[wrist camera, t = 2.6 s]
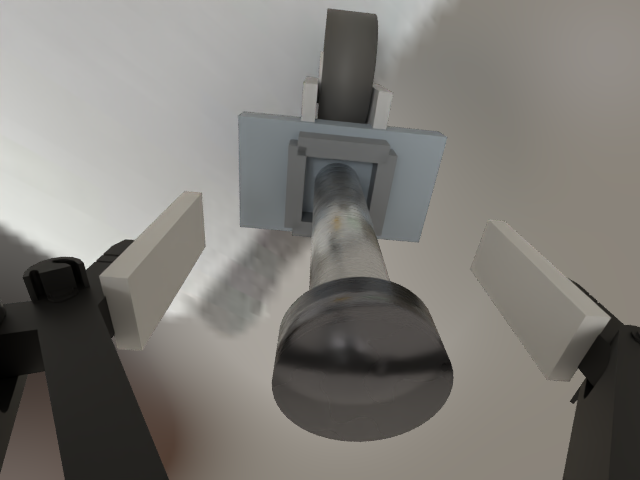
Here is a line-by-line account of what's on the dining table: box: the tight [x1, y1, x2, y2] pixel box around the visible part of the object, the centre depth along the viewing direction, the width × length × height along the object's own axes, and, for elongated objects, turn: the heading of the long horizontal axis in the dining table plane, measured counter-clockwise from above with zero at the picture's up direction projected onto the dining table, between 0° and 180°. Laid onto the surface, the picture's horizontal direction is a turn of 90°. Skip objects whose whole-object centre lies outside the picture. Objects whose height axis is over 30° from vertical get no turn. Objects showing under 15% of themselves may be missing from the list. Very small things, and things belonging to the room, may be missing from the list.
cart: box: [238, 9, 447, 242], centre depth 23 cm, size 12×13×11 cm
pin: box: [272, 163, 453, 442], centre depth 15 cm, size 4×4×15 cm
